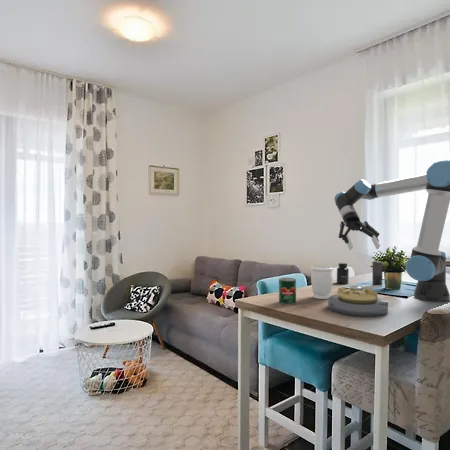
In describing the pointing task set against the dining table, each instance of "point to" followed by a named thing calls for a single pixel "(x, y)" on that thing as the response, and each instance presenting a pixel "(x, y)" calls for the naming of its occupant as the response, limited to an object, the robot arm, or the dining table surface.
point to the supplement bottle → (342, 274)
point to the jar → (321, 281)
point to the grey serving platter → (358, 308)
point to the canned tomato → (287, 291)
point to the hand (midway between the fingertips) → (364, 247)
